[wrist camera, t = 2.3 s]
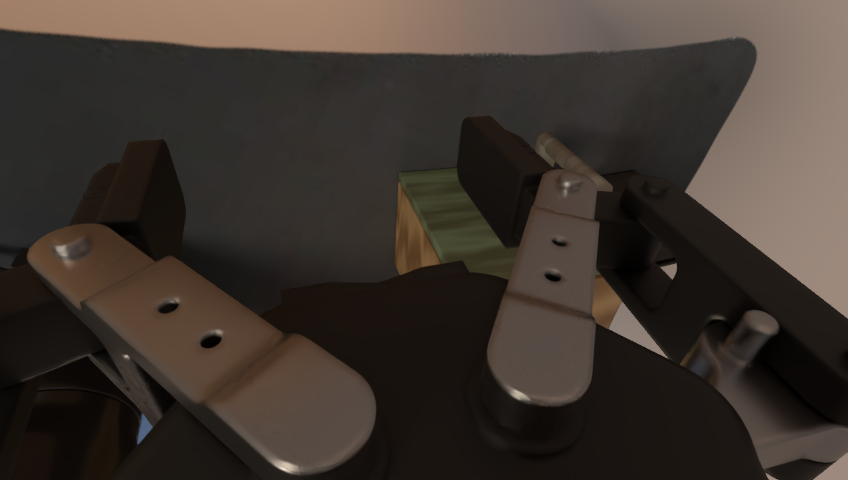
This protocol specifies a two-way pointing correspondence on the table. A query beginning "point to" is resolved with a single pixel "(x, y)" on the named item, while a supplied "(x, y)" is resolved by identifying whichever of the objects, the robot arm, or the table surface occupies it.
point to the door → (475, 212)
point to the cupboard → (420, 252)
